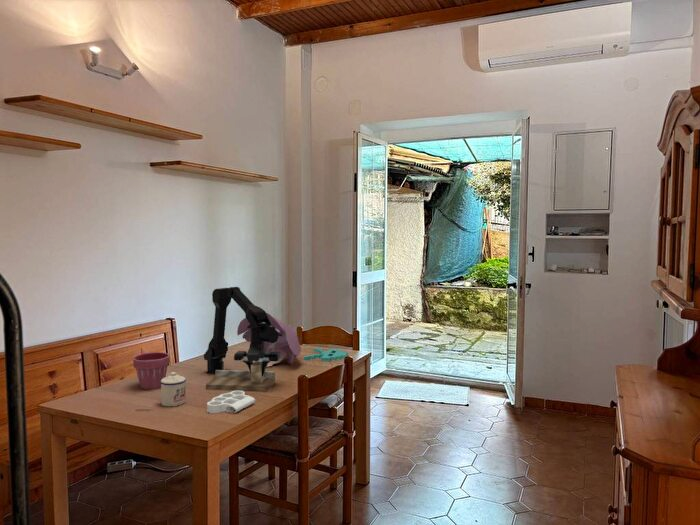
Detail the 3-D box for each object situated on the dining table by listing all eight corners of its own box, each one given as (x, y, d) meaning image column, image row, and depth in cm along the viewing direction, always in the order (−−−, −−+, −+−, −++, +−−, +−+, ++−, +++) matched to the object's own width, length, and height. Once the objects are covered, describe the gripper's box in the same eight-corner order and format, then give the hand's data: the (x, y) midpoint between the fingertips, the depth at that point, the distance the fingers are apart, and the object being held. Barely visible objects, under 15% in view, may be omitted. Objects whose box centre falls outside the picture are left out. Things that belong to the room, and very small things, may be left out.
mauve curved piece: (231, 374, 243) (219, 320, 237) (252, 354, 265) (242, 304, 259) (296, 373, 232) (286, 317, 226) (313, 352, 254) (304, 300, 248)
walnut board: (205, 389, 203) (205, 378, 203) (216, 380, 216) (216, 370, 216) (268, 391, 201) (268, 380, 201) (275, 381, 214) (275, 371, 214)
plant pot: (151, 393, 198) (150, 361, 197) (126, 388, 204) (125, 358, 203) (177, 383, 211) (177, 354, 210) (153, 379, 217) (152, 350, 216)
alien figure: (304, 360, 252) (342, 363, 248) (304, 356, 252) (342, 358, 248) (314, 351, 271) (350, 353, 267) (314, 347, 271) (350, 349, 267)
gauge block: (250, 381, 207) (250, 365, 207) (254, 377, 213) (254, 361, 213) (260, 381, 207) (260, 365, 206) (263, 377, 213) (263, 361, 212)
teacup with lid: (176, 408, 181) (176, 376, 180) (155, 405, 184) (155, 374, 183) (195, 397, 193) (195, 368, 192) (175, 395, 195) (174, 366, 194)
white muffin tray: (230, 418, 173) (197, 411, 179) (260, 402, 189) (229, 397, 195) (230, 408, 172) (197, 402, 179) (260, 393, 189) (229, 388, 195)
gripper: (229, 343, 201) (230, 381, 202) (274, 344, 200) (275, 382, 201) (237, 337, 213) (238, 373, 213) (280, 338, 211) (280, 374, 212)
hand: (257, 376), depth 210 cm, fingers closed on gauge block, 4 cm apart
